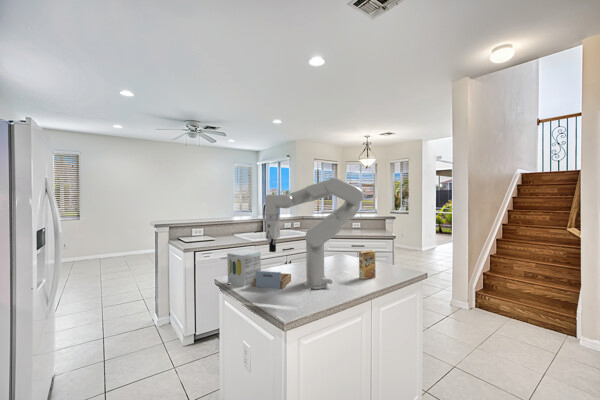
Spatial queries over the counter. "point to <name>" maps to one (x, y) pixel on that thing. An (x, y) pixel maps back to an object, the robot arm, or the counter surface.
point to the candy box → (367, 264)
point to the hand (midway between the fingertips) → (272, 251)
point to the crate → (284, 280)
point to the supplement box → (243, 266)
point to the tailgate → (268, 279)
